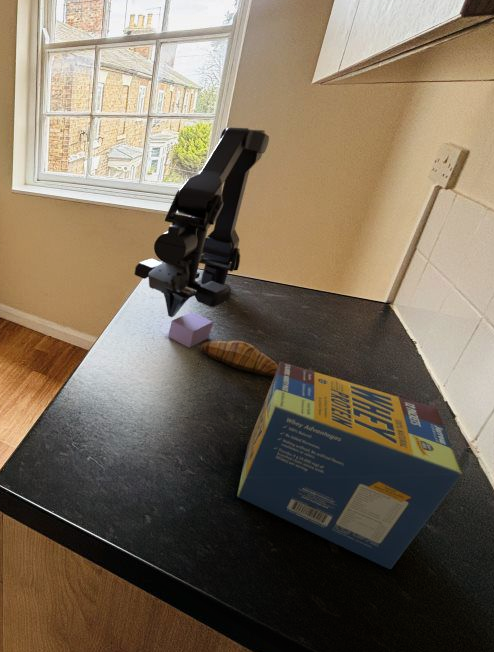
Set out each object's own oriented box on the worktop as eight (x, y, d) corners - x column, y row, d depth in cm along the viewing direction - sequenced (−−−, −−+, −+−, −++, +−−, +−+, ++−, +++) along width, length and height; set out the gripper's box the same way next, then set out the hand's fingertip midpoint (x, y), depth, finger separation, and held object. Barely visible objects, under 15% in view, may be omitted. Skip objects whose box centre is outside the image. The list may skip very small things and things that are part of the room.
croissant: (195, 359, 78) (201, 337, 76) (204, 344, 83) (209, 323, 81) (276, 388, 71) (285, 365, 69) (280, 369, 76) (289, 347, 73)
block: (187, 327, 89) (191, 311, 87) (208, 337, 85) (213, 321, 83) (167, 336, 85) (171, 320, 84) (189, 348, 82) (193, 331, 80)
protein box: (245, 445, 59) (278, 359, 52) (381, 501, 51) (442, 408, 44) (235, 498, 52) (272, 405, 45) (393, 573, 44) (468, 474, 37)
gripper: (123, 243, 84) (113, 308, 91) (208, 274, 70) (189, 348, 77) (156, 233, 89) (144, 296, 96) (241, 260, 76) (220, 330, 83)
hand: (171, 316), depth 88 cm, fingers closed
